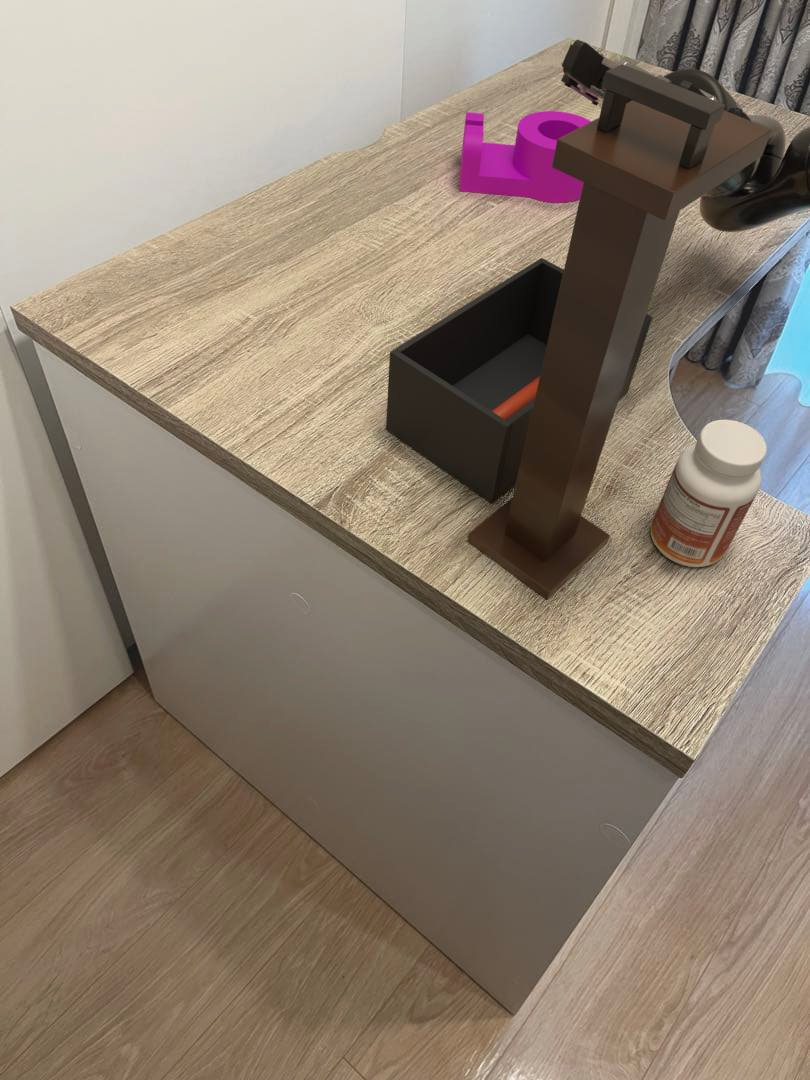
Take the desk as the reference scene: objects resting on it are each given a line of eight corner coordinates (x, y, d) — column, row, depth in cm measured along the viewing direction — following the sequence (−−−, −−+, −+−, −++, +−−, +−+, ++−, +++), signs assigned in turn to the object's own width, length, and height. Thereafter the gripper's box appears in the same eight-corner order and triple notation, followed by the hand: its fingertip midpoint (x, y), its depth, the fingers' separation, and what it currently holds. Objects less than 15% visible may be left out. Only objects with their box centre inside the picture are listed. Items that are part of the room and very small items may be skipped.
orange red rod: (559, 367, 82) (564, 354, 81) (572, 376, 81) (577, 364, 80) (440, 454, 73) (444, 441, 72) (454, 465, 73) (458, 453, 72)
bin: (526, 333, 86) (541, 257, 79) (627, 393, 81) (653, 316, 74) (385, 429, 76) (389, 351, 69) (491, 504, 71) (506, 427, 64)
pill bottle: (705, 507, 72) (753, 407, 64) (738, 564, 68) (795, 466, 60) (636, 516, 71) (676, 416, 63) (666, 575, 67) (713, 477, 59)
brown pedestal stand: (550, 472, 74) (668, 28, 47) (628, 523, 71) (802, 77, 44) (467, 541, 68) (547, 83, 42) (547, 600, 65) (689, 144, 38)
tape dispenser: (587, 165, 109) (598, 115, 104) (592, 206, 103) (605, 154, 98) (461, 154, 109) (466, 103, 104) (459, 194, 103) (464, 142, 98)
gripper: (643, 58, 72) (564, -16, 59) (798, 117, 67) (749, 50, 53) (600, 148, 76) (516, 98, 62) (745, 212, 70) (686, 171, 57)
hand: (624, 76), depth 58 cm, fingers open, 8 cm apart
